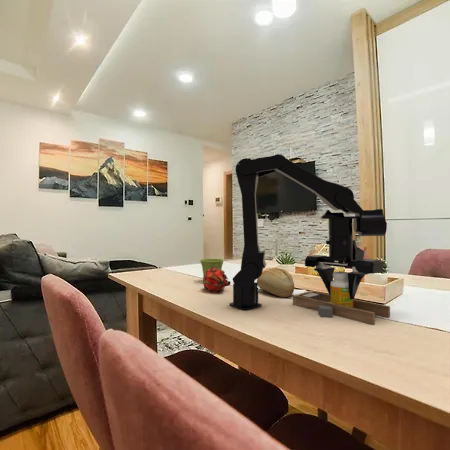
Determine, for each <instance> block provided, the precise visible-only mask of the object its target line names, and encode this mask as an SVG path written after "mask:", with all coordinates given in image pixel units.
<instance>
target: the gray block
mask: <svg viewBox="0 0 450 450" xmlns="http://www.w3.org/2000/svg"><path fill="white" fill-rule="evenodd" d="M317 312H318V315H319V316H320V317H321V318H333V317H334V315H333V309H332V308H331V306H320V305H318V311H317Z"/></svg>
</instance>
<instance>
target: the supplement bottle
mask: <svg viewBox="0 0 450 450" xmlns="http://www.w3.org/2000/svg"><path fill="white" fill-rule="evenodd" d="M348 273H349V272H347V271H334V272H333V281H331V283H330V291H331V302H333V303H335V304H339V305H343V306H347V307H352V308H353V299H350V294H349V283H348Z"/></svg>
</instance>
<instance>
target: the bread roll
mask: <svg viewBox="0 0 450 450" xmlns="http://www.w3.org/2000/svg"><path fill="white" fill-rule="evenodd" d="M256 283H257V287H258V289H260V290H263V291H265V292H267V293H268V292H269V293H270V294H272V295H274V296H278V297H280V298H289V297H291V296H293V295H294V293H295V292H294V291H295V289H296V288H295V281H294V279H293V277H292V275H291V273H290V272H289V271H287V270H285V269H282V268H277V267H276V268H269V269H265V270H263V272H262V274H261V276H260V277H259V278H258V279H256Z"/></svg>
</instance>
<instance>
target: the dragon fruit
mask: <svg viewBox="0 0 450 450" xmlns="http://www.w3.org/2000/svg"><path fill="white" fill-rule="evenodd" d="M228 280H229V278H228V276H227V275H226V274H225V270H220V269H218V268H214V267H211V268H209V269H208V270H207V271H206V272H205V273H204V275H203V276H202V282H203V287H204V289H205V290H209V291H210V292H211V293H213V294H216V293H218V291H224V289H225V287H229V286H230V285H231V283H232V282H231V280H230V281H228Z"/></svg>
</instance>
